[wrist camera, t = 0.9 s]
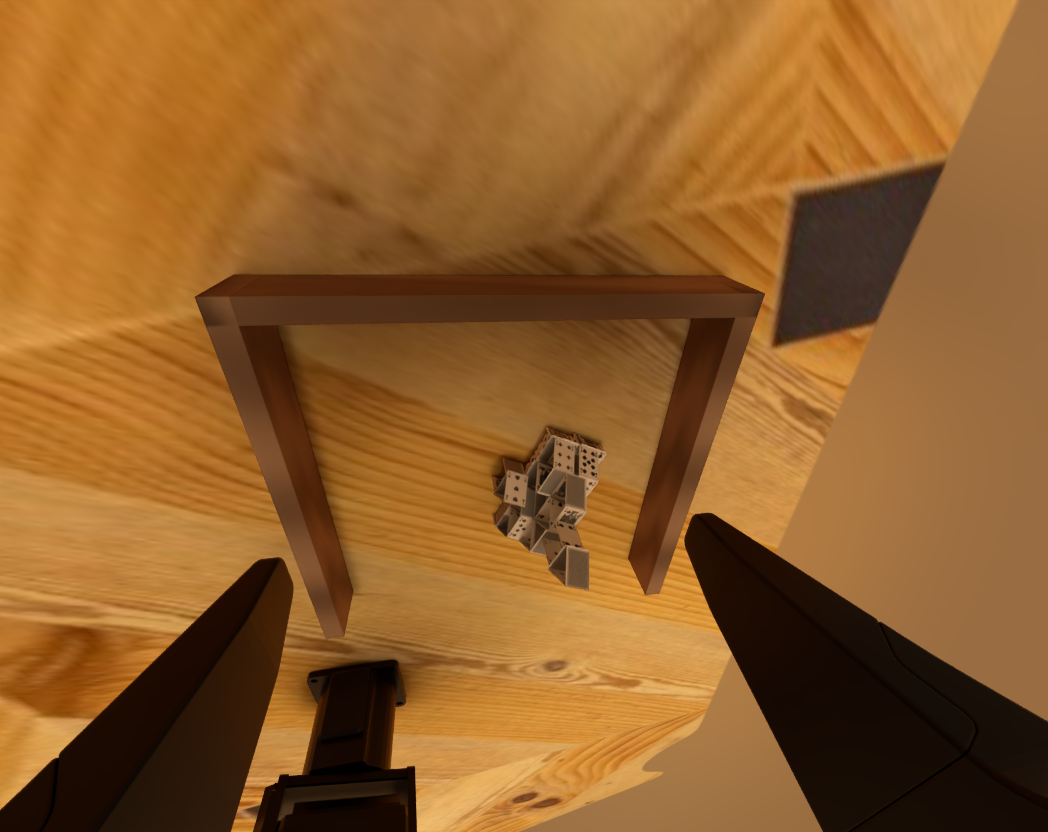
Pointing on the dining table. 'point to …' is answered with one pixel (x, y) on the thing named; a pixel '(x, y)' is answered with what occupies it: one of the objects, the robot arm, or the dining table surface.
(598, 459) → the house of cards
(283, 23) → the dining table surface
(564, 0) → the dining table surface
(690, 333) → the wooden arch
